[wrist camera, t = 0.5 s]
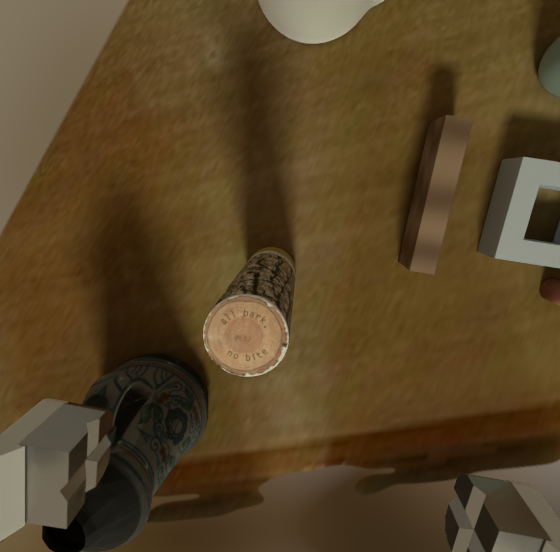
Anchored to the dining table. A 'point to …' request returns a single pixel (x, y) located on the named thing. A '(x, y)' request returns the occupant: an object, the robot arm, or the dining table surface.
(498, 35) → the dining table surface
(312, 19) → the robot arm
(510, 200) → the holed block
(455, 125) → the walnut wall
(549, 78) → the cup
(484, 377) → the dining table surface
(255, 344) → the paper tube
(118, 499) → the beer stein
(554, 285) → the sausage
